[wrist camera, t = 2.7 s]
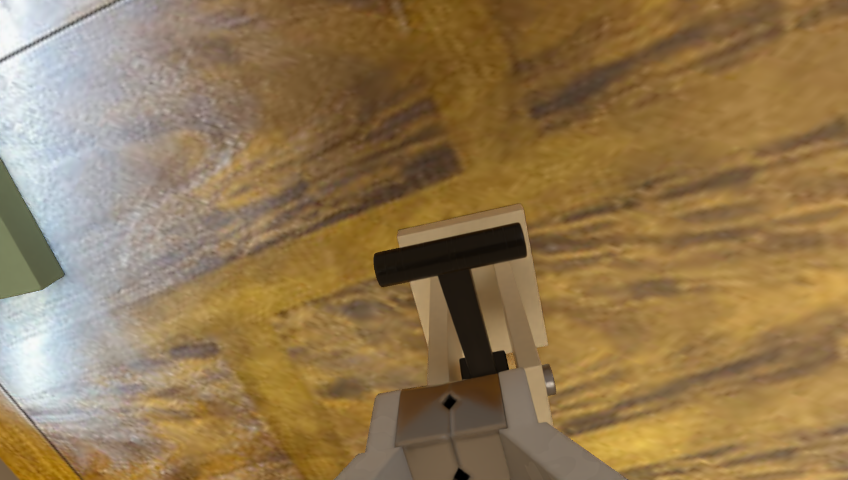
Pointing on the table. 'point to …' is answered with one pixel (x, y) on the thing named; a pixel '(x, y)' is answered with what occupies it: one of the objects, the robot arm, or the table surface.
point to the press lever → (458, 283)
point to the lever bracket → (486, 307)
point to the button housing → (22, 245)
